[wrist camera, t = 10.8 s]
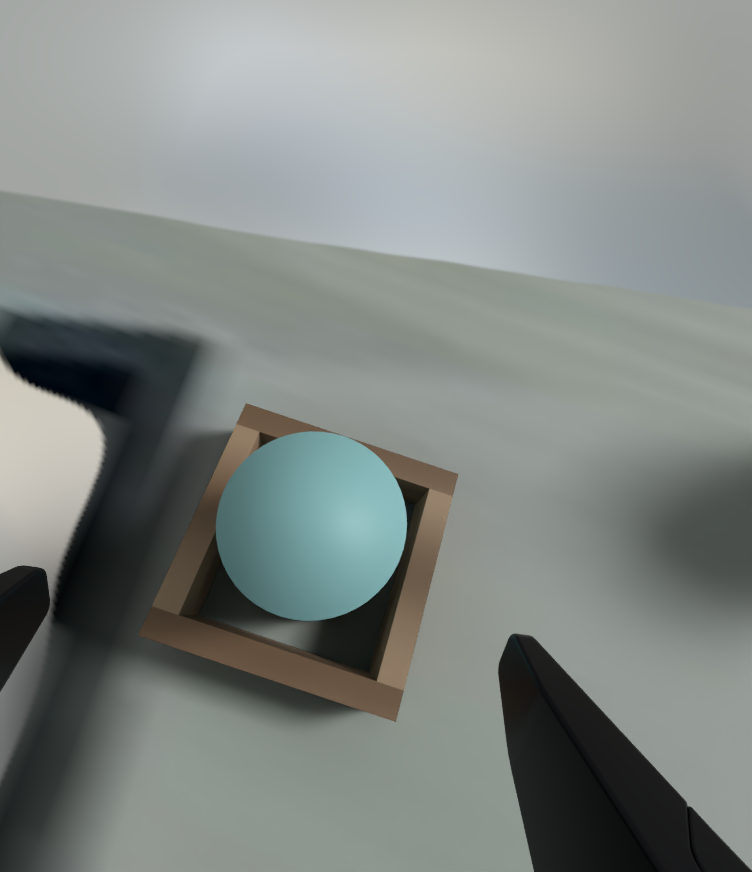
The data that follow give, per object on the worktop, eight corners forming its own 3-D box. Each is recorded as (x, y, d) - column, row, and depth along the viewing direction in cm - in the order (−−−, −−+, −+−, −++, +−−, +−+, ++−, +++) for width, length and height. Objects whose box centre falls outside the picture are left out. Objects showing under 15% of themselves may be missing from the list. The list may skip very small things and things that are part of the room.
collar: (384, 706, 19) (395, 721, 16) (164, 632, 19) (138, 635, 16) (440, 491, 23) (458, 474, 20) (254, 429, 23) (246, 403, 20)
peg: (350, 635, 20) (375, 648, 11) (238, 597, 20) (181, 583, 11) (384, 522, 22) (427, 464, 13) (281, 488, 22) (260, 408, 13)
